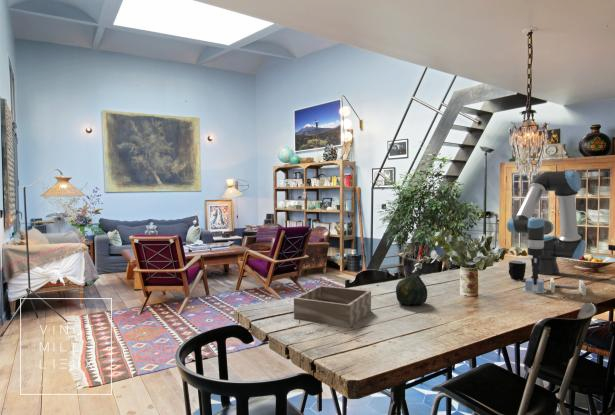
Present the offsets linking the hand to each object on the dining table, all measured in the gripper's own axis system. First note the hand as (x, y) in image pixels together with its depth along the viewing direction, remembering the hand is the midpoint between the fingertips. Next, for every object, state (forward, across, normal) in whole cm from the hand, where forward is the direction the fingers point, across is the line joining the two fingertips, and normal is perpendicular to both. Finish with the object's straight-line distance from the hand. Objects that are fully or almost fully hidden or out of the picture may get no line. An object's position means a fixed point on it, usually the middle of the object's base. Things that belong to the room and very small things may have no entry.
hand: (534, 287), depth 225 cm
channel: (+1, -8, +15) cm, 17 cm away
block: (+1, 0, 0) cm, 1 cm away
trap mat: (+1, -14, +15) cm, 20 cm away
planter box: (+1, +84, -78) cm, 115 cm away
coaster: (+1, 0, 0) cm, 1 cm away
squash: (+1, +52, -52) cm, 74 cm away
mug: (+2, -25, -10) cm, 27 cm away
